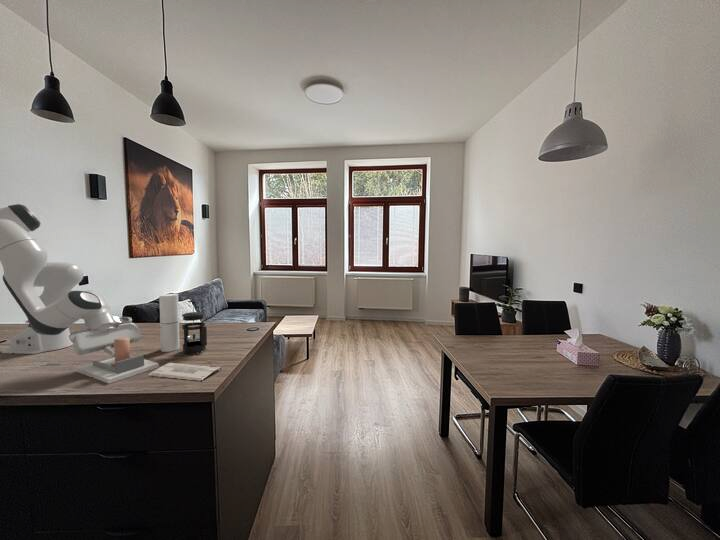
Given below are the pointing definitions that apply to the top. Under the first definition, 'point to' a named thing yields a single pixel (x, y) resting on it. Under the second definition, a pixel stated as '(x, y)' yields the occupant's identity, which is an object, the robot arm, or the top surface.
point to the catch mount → (117, 368)
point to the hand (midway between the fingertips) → (117, 355)
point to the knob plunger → (121, 349)
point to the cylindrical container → (169, 322)
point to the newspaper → (183, 371)
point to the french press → (194, 345)
